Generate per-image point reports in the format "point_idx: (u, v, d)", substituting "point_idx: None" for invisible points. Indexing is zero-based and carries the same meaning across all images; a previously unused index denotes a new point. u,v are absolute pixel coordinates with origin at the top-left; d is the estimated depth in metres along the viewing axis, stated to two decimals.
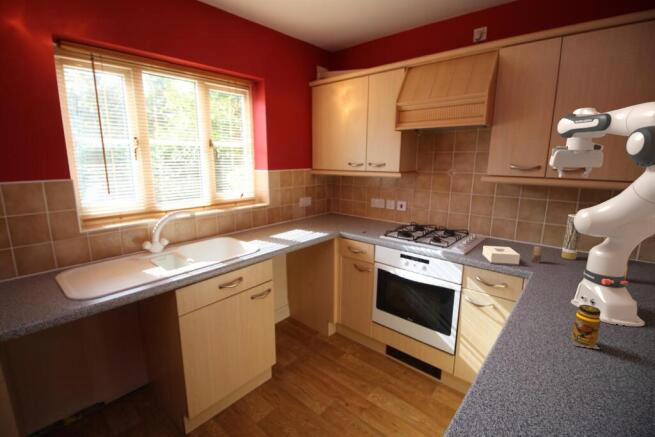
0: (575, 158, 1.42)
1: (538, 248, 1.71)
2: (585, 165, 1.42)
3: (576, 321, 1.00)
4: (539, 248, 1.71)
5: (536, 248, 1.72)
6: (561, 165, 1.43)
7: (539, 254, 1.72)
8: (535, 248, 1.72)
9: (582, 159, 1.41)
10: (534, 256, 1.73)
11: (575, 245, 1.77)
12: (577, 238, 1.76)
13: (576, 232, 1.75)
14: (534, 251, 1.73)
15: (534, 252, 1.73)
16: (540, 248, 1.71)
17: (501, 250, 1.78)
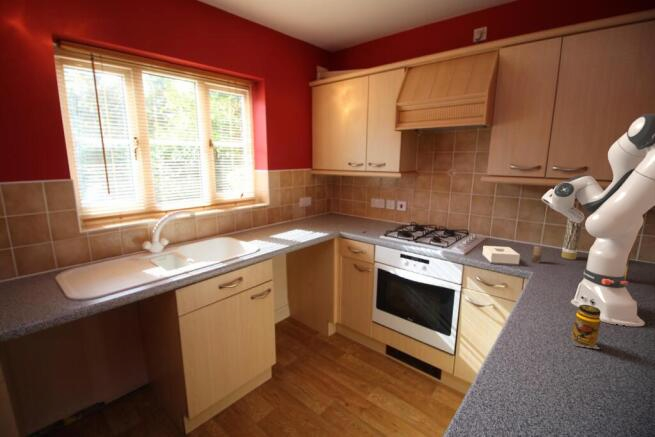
0: None
1: (538, 248, 1.71)
2: None
3: (576, 321, 1.00)
4: (539, 248, 1.71)
5: (536, 248, 1.72)
6: None
7: (539, 254, 1.72)
8: (535, 248, 1.72)
9: None
10: (534, 256, 1.73)
11: (575, 245, 1.77)
12: (577, 238, 1.76)
13: (576, 232, 1.75)
14: (534, 251, 1.73)
15: (534, 252, 1.73)
16: (540, 248, 1.71)
17: (501, 250, 1.78)
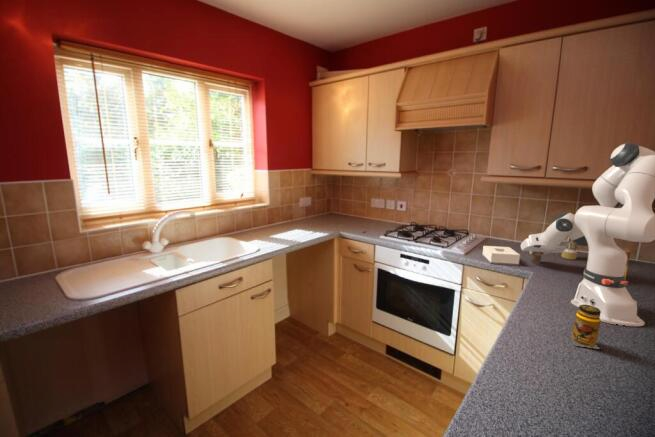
0: None
1: None
2: None
3: (576, 321, 1.00)
4: None
5: None
6: None
7: (539, 254, 1.72)
8: None
9: None
10: (534, 256, 1.73)
11: (575, 245, 1.77)
12: None
13: None
14: None
15: (534, 252, 1.73)
16: None
17: (501, 250, 1.78)
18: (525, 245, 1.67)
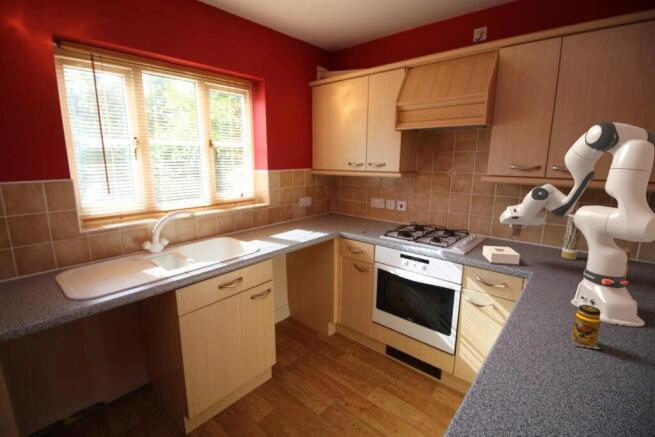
0: None
1: None
2: None
3: (576, 321, 1.00)
4: None
5: None
6: None
7: (519, 227, 1.70)
8: None
9: None
10: (514, 229, 1.72)
11: (575, 245, 1.77)
12: (577, 238, 1.76)
13: (576, 232, 1.75)
14: (514, 224, 1.71)
15: (514, 225, 1.71)
16: None
17: (501, 250, 1.78)
18: (503, 217, 1.66)
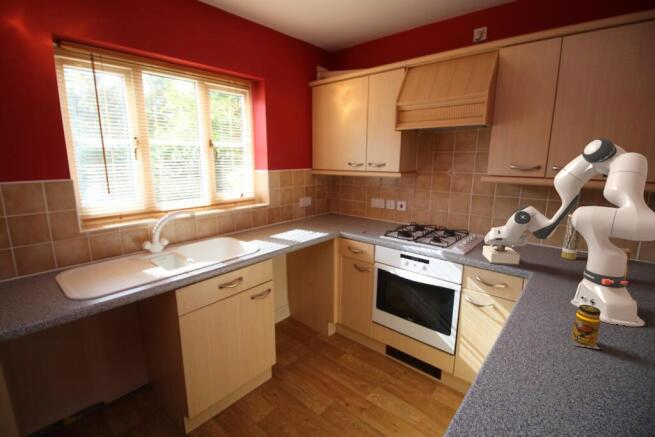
0: None
1: (501, 245, 1.73)
2: None
3: (576, 321, 1.00)
4: (502, 245, 1.73)
5: (499, 245, 1.73)
6: None
7: (502, 251, 1.73)
8: (498, 245, 1.74)
9: None
10: None
11: (575, 245, 1.77)
12: (577, 238, 1.76)
13: (576, 232, 1.75)
14: (498, 248, 1.75)
15: (498, 249, 1.75)
16: (503, 245, 1.73)
17: None
18: (488, 238, 1.68)
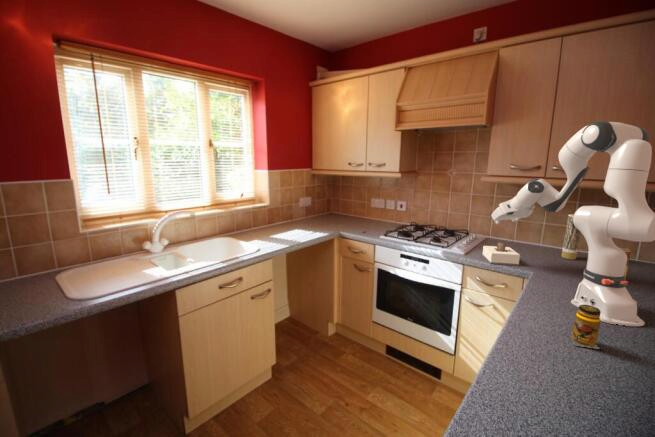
0: None
1: (501, 245, 1.73)
2: None
3: (576, 321, 1.00)
4: (502, 245, 1.73)
5: (499, 245, 1.73)
6: None
7: (502, 251, 1.73)
8: (498, 245, 1.74)
9: None
10: None
11: (575, 245, 1.77)
12: (577, 238, 1.76)
13: (576, 232, 1.75)
14: (498, 248, 1.75)
15: (498, 249, 1.75)
16: (503, 245, 1.73)
17: None
18: (497, 214, 1.62)
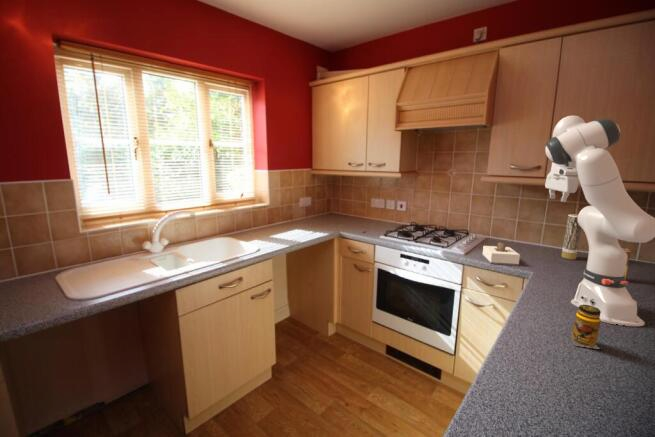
0: (555, 181, 1.49)
1: (501, 245, 1.73)
2: (559, 189, 1.45)
3: (576, 321, 1.00)
4: (502, 245, 1.73)
5: (499, 245, 1.73)
6: (548, 187, 1.54)
7: (502, 251, 1.73)
8: (498, 245, 1.74)
9: (558, 183, 1.46)
10: None
11: (575, 245, 1.77)
12: (577, 238, 1.76)
13: (576, 232, 1.75)
14: (498, 248, 1.75)
15: (498, 249, 1.75)
16: (503, 245, 1.73)
17: None
18: (575, 181, 1.38)
